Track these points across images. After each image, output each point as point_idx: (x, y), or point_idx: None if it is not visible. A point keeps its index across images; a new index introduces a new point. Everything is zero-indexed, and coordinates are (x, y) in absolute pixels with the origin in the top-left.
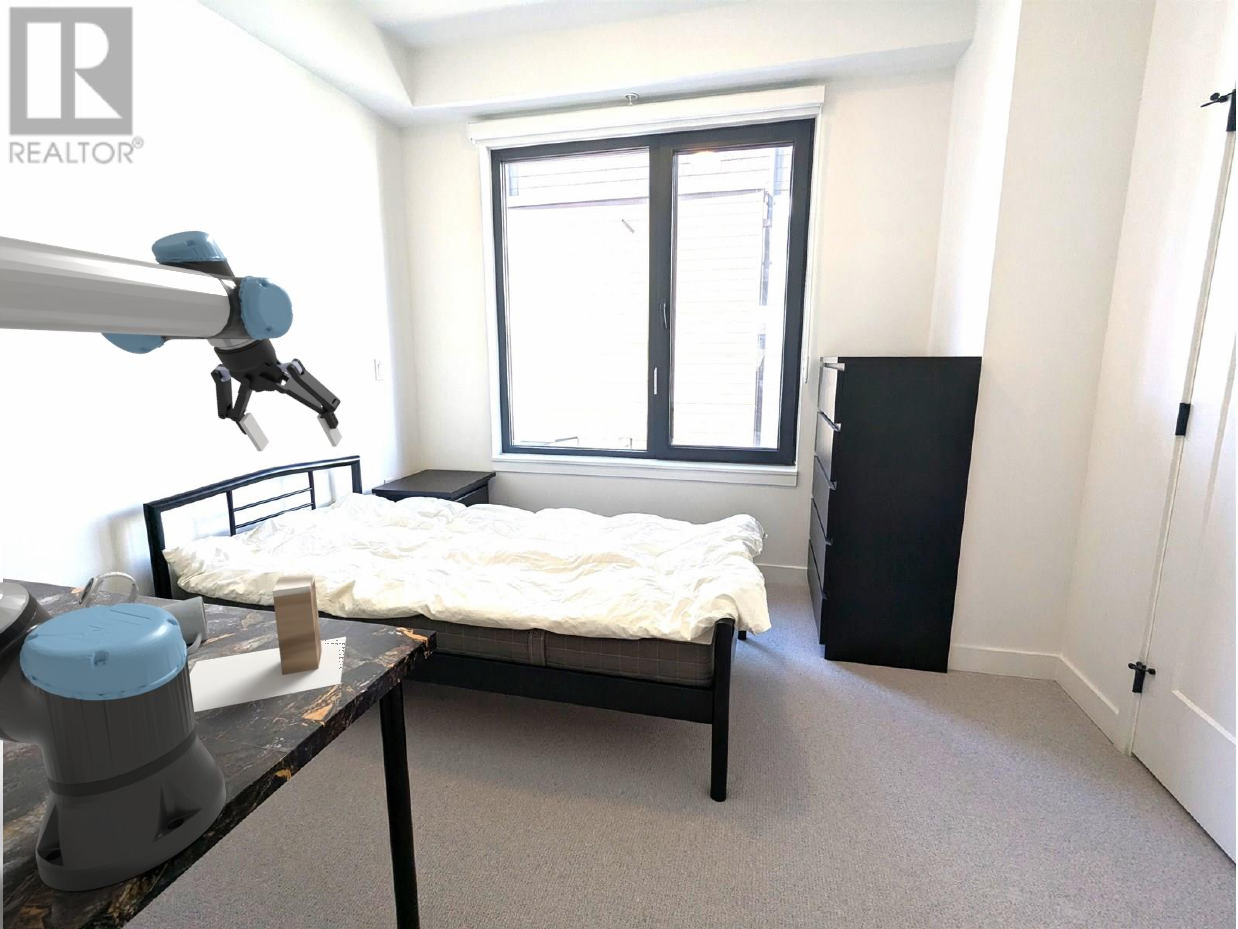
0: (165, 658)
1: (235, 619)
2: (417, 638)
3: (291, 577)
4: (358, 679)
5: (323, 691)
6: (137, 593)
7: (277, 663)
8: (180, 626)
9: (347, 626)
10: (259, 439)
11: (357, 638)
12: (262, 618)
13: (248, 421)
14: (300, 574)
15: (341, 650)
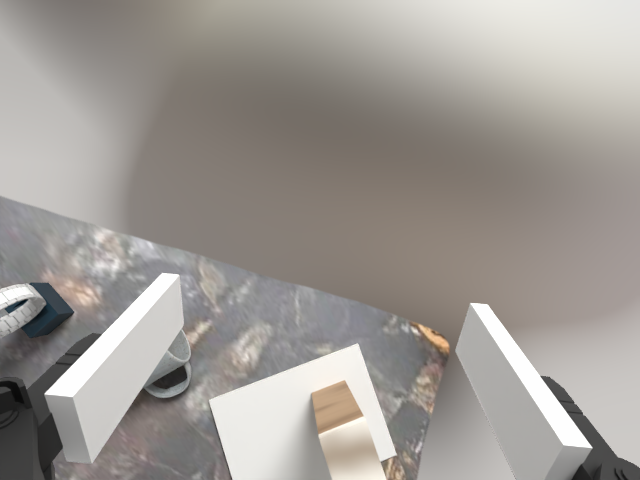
0: None
1: (189, 280)
2: (441, 345)
3: (340, 441)
4: (408, 439)
5: (381, 463)
6: (40, 298)
7: (306, 408)
8: (161, 376)
9: (345, 309)
10: (163, 334)
11: (370, 342)
12: (224, 279)
13: (100, 416)
14: (348, 428)
15: (367, 379)
